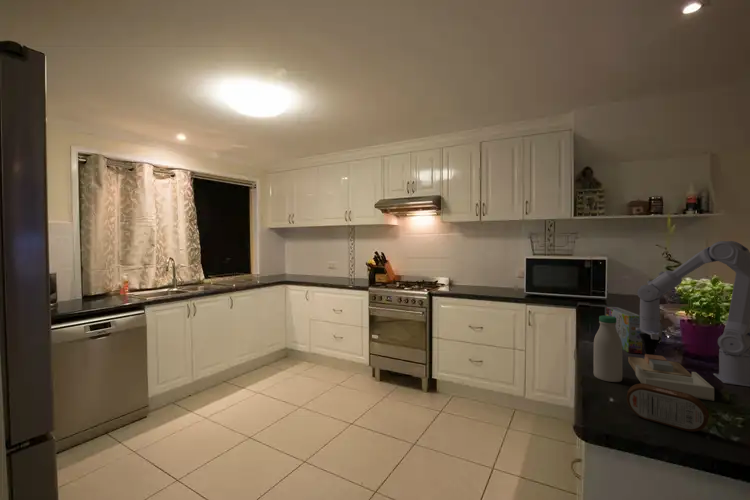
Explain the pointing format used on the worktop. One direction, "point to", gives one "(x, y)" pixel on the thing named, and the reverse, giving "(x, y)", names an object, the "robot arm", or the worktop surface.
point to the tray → (677, 383)
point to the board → (646, 367)
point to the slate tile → (660, 365)
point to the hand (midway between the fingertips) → (649, 354)
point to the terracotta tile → (654, 357)
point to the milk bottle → (608, 351)
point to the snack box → (627, 328)
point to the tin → (668, 407)
